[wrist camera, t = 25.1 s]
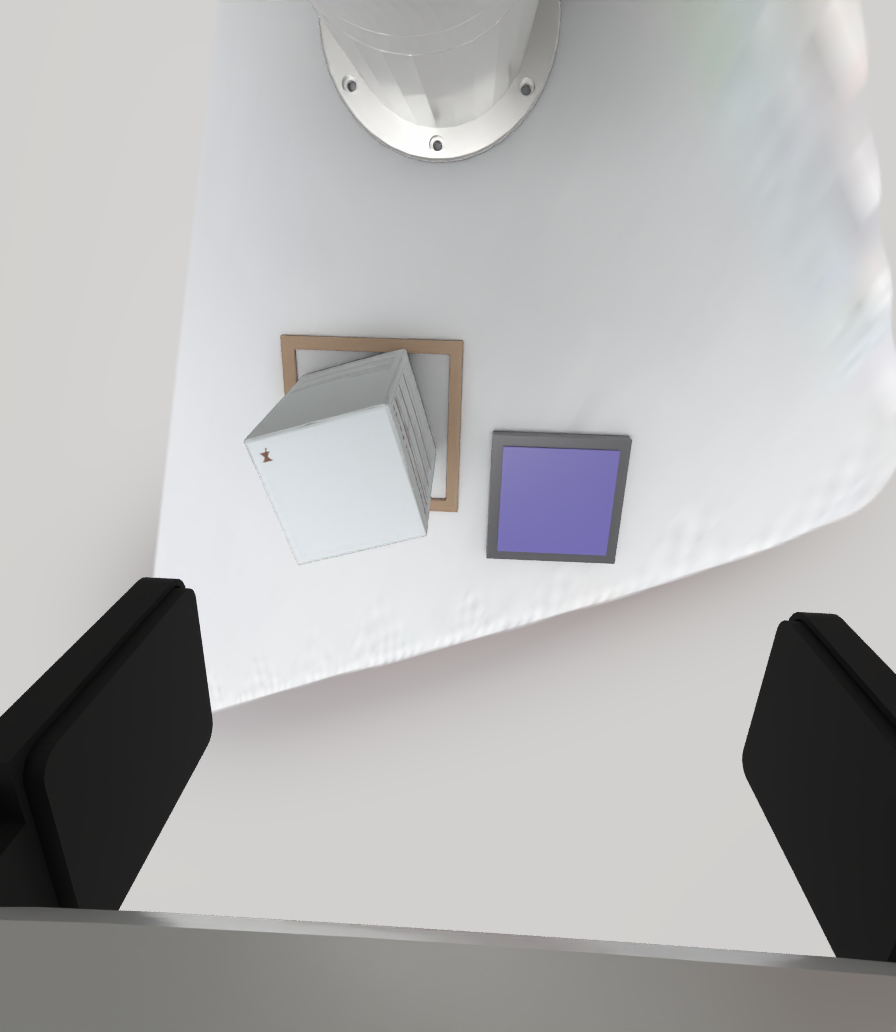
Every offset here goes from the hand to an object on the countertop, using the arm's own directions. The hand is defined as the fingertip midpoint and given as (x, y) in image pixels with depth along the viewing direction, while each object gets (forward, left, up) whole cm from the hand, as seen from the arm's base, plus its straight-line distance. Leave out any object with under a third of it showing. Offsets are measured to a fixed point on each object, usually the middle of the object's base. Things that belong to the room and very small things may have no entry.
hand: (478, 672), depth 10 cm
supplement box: (+4, -7, -33) cm, 34 cm away
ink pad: (+10, +6, -33) cm, 35 cm away
